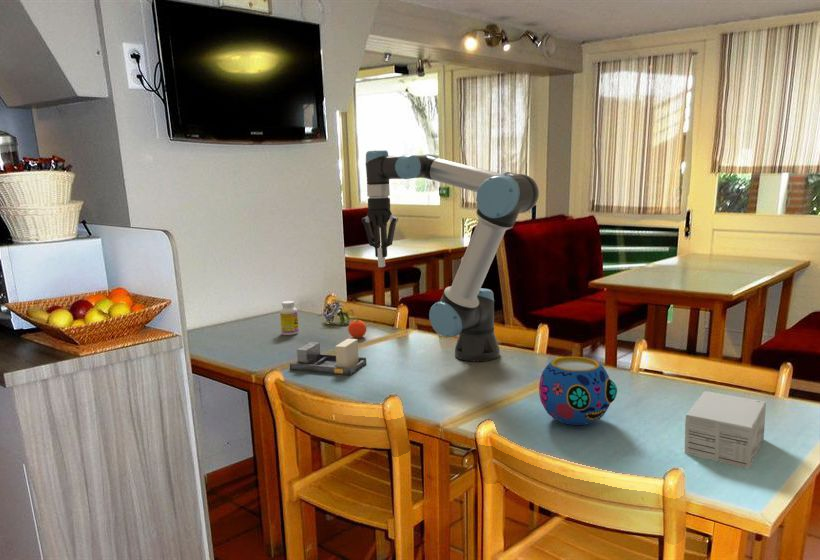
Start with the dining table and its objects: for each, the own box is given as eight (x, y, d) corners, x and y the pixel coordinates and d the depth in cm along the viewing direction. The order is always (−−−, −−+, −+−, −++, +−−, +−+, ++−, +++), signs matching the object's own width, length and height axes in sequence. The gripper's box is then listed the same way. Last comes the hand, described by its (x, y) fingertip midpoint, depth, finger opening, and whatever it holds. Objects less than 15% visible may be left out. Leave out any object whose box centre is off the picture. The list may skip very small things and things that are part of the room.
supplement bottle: (296, 335, 245) (294, 303, 243) (280, 336, 245) (277, 304, 243) (300, 331, 251) (297, 300, 249) (283, 331, 252) (281, 300, 249)
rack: (366, 363, 206) (365, 344, 205) (350, 375, 195) (348, 355, 194) (308, 358, 214) (307, 340, 213) (289, 370, 203) (288, 350, 202)
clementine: (345, 336, 241) (344, 318, 240) (362, 333, 244) (361, 316, 243) (352, 341, 234) (351, 322, 233) (369, 338, 237) (368, 320, 236)
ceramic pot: (568, 441, 144) (569, 379, 141) (525, 415, 160) (524, 359, 157) (627, 427, 151) (629, 367, 148) (580, 402, 167) (581, 348, 164)
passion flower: (329, 336, 262) (315, 312, 264) (350, 327, 269) (336, 303, 271) (339, 326, 253) (324, 301, 255) (360, 316, 260) (345, 292, 262)
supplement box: (701, 427, 150) (703, 389, 148) (764, 440, 142) (767, 401, 140) (682, 453, 137) (684, 413, 135) (750, 469, 129) (752, 427, 127)
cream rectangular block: (358, 362, 206) (357, 339, 204) (346, 371, 197) (345, 346, 196) (349, 361, 207) (347, 338, 205) (336, 370, 199) (335, 346, 197)
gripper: (400, 196, 210) (403, 265, 215) (365, 196, 215) (368, 264, 219) (392, 197, 203) (395, 268, 208) (356, 198, 208) (359, 267, 212)
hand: (381, 266), depth 213 cm, fingers closed
